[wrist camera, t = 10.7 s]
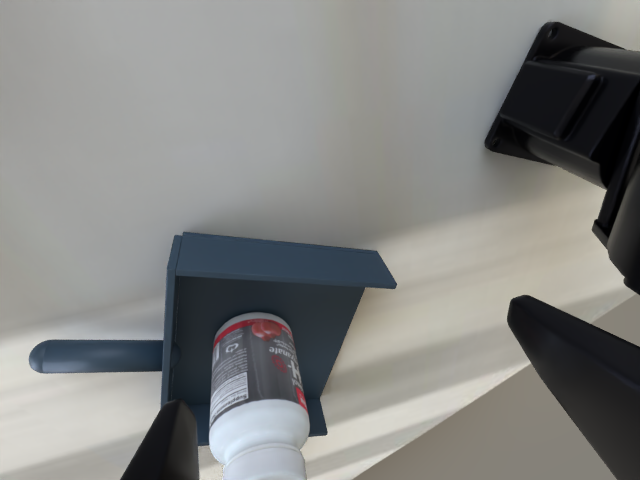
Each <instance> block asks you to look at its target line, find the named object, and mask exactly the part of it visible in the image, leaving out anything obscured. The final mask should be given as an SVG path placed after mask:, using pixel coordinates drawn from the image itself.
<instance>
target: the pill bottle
mask: <svg viewBox="0 0 640 480" xmlns="http://www.w3.org/2000/svg"><path fill="white" fill-rule="evenodd" d="M309 430H310V423H309V416H308V411H307V406H306V401H305V397H304V391H303V386H302V381H301V376H300V372H299V365H298V361H297V356H296V351H295V346H294V341H293V337H292V332H291V329H290V327H289V325H288V324H287V323H286V322H285V321H284V320H283V319H281V318H280V317H278V316H275V315H273V314H269V313H262V312H251V313H245V314H242V315H239V316H236V317H233V318H232V319H230V320H229V321H227V322H226V323H225V324H224V325H223V326H222V327H221V328H220V329H219V330H218V331H217V333H216V335H215V338H214V344H213V363H212V383H211V407H210V430H209V444H210V449H211V452H212V454H213V456H214V457H215V458H216V459H217V460H218V461H219V462H220V463H222V464H223V465H225V466H224V469H223V480H307V476H306V469H305V460H304V457H303V456H302V453H301V451H300V449H301V448H302V447H303V445H304V444H305V442H306V440H307V438H308V435H309Z"/></svg>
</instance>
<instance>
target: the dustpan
mask: <svg viewBox="0 0 640 480" xmlns="http://www.w3.org/2000/svg"><path fill="white" fill-rule="evenodd" d="M179 278H180V280H179ZM396 286H397V283H396V281H395V280H394V278H393V276H392V275H391V273H390V271H389V270H388V268H387V266H386V265H385V263H384V262H383V260H382V258H381V257H380V255H379V253H378V252H377V251H371V250H361V249H351V248H341V247H331V246H320V245H310V244H300V243H290V242H280V241H270V240H260V239H250V238H239V237H229V236H219V235H209V234H199V233H189V232H183V237H182V236H179V235H175V236H174V240H173V244H172V249H171V253H170V257H169V262H168V266H167V277H166V299H165V321H164V340H47V341H44V342H41V343H40V344H38V345H37V346H36V347H34V348H33V350H32V351H31V353H30V356H29V364H30V366H31V368H32V369H33V370H35V371H37V372H39V373H97V372H149V371H162V388H161V408H162V407H163V405H164V404H165V403H167V402H169V401H173V400H176V399H183V400H184V401H185V403H186V404H187V405H188V406H189V408H190V409H191V410H192V412H193V413H194V415H195V417H196V423H197V441H198V446H205V445H210V444H209V430H210V407H211V383H212V363H213V344H214V338H215V335H216V333H217V331H218V330H219V329H220V328H221V327H222V326H223V325H224V324H225V323H226V322H227V321H229V320H230V319H232V318H233V317H236V316H239V315H242V314H245V313H251V312H262V313H269V314H273V315H275V316H278V317H280V318H281V319H283V320H284V321H285V322H286V323H287V324H288V325H289V327H290V329H291V332H292V337H293V341H294V346H295V351H296V356H297V361H298V365H299V372H300V376H301V381H302V386H303V391H304V397H305V401H306V406H307V411H308V416H309V423H310V430H309V435H308V437H312V436H324V435H327V433H328V432H327V428H326V423H325V419H324V415H323V411H322V406H321V402H320V396H321V394H322V392H323V389H324V387H325V384H326V382H327V379H328V377H329V375H330V372H331V370H332V367H333V365H334V362H335V360H336V358H337V355H338V353H339V350H340V348H341V345H342V343H343V341H344V338H345V336H346V333H347V331H348V329H349V326H350V324H351V321H352V319H353V316H354V314H355V312H356V309H357V307H358V304H359V302H360V299H361V297H362V295H363V292H364V290H365V287H370V288H386V289H395V288H396ZM178 293H179V294H178ZM177 307H178V309H177ZM176 322H177V323H176ZM175 336H176V338H175ZM172 380H173V381H172ZM171 394H172V396H171Z"/></svg>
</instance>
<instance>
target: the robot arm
mask: <svg viewBox="0 0 640 480" xmlns="http://www.w3.org/2000/svg"><path fill="white" fill-rule="evenodd" d="M551 30H552V33H551V36H550V37H548V35H549V32H550V31H551ZM496 139H497V140H496ZM495 140H496V142H495V144H493V142H494V141H495ZM485 147H486V148H487V149H489V150H491V151H493V152H497V153H501V154H506V155H510V156H515V157H519V158H524V159H528V160H532V161H537V162H541V163H546V164H550V165H554V166H558V167H560V168H562V169H564V170H566V171H568V172H570V173H572V174H574V175H576V176H579V177H581V178H583V179H585V180H587V181H589V182H591V183H593V184H595V185H597V186H599V187H601V188H603V189H605V190H607V191H606V194H605V197H604V200H603V203H602V207H601V210H600V213H599V216H598V219H596V220H595V221H594V224H593V227H592V231H593V233H594V234H595V235H596V236H597V238H598V239H599V240H600V241H601V243H602V244H603V245H604V246H605V247H606V249H607V250H608V254H609V258H610V260H611V261H612V263H613V264H614V265H615V266H616V268H617V269H618V270H619V271H620V272H621V274H622V275H623V276H624V277H625V278H624V280H623V281H624V284H625V285H626V286H627V287H628V288H630V289H631V290H633V291H634V292H636V293H637V294H639V295H640V51H632V50H626V49H624V48H621V47H619V46H616V45H614V44H611V43H609V42H606V41H604V40H601V39H599V38H597V37H594V36H592V35H589V34H587V33H584V32H582V31H579V30H577V29H574V28H572V27H569V26H567V25H565V24H562V23H560V22H548V23H546V24H545V25H544V26H542V28H541V29H540V31H539V33H538V35H537V37H536V39H535V41H534V43H533V45H532V47H531V49H530V51H529V53H528V55H527V57H526V59H525V61H524V63H523V65H522V67H521V69H520V71H519V73H518V75H517V77H516V79H515V81H514V83H513V85H512V87H511V89H510V91H509V93H508V95H507V97H506V99H505V101H504V103H503V105H502V107H501V109H500V111H499V113H498V115H497V117H496V119H495V121H494V123H493V125H492V127H491V129H490V131H489V133H488V135H487V137H486V140H485ZM507 322H508V325H509V327H510V329H511V330H512V332H513V334H514V335H515V337H516V339H517V340H518V342H519V344H520V345H521V347H522V348H523V350H524V352H525V353H526V355H527V357H528V358H529V360H530V362H531V363H532V365H533V367H534V368H535V370H536V371H537V373H538V374H539V376H540V377H541V379H542V380H543V382H544V383H545V384H546V385H547V387H548V389H549V390H550V391H551V392H552V394H553V395H554V396H555V397H556V399H557V400H558V402H559V403H560V404H561V406H562V407H563V408H564V410H565V411H566V412H567V414H568V415H569V416H570V418H571V419H572V420H573V422H574V423H575V424H576V426H577V427H578V428H579V430H580V431H581V432H582V434H583V435H584V436H585V437H586V439H587V440H588V442H589V443H590V444H591V446H592V447H593V448H594V450H595V451H596V452H597V453H598V455H599V456H600V458H601V459H602V460H603V461H604V463H605V464H606V465H607V467H608V468H609V469H610V471H611V472H612V473H613V475H614V476H615V477H616V479H617V480H640V347H639V346H637V345H634V344H632V343H630V342H628V341H626V340H624V339H621V338H619V337H617V336H615V335H613V334H611V333H609V332H607V331H604V330H602V329H600V328H598V327H596V326H593V325H592V324H589V323H587V322H585V321H583V320H581V319H579V318H576V317H574V316H572V315H570V314H568V313H566V312H564V311H561V310H559V309H557V308H555V307H553V306H551V305H549V304H546V303H544V302H542V301H540V300H538V299H536V298H534V297H531V296H529V295H522V296H519V297H516V298H513V299H512V300H511V301H510V305H509V310H508V315H507ZM120 480H199V460H198V441H197V423H196V417H195V415H194V413H193V412H192V410H191V409H190V408H189V406H188V405H187V404H186V403H185V401H184V400H183V399H176V400H173V401H169V402H167V403H165V404H164V405H163V407H162V408H161V410H160V412H159V413H158V415H157V417H156V419H155V420H154V422H153V424H152V426H151V427H150V429H149V431H148V432H147V434H146V436H145V438H144V439H143V441H142V443H141V445H140V446H139V448H138V450H137V451H136V453H135V455H134V457H133V458H132V460H131V462H130V464H129V465H128V467H127V469H126V471H125V472H124V474H123V476H122V477H121V479H120Z"/></svg>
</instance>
